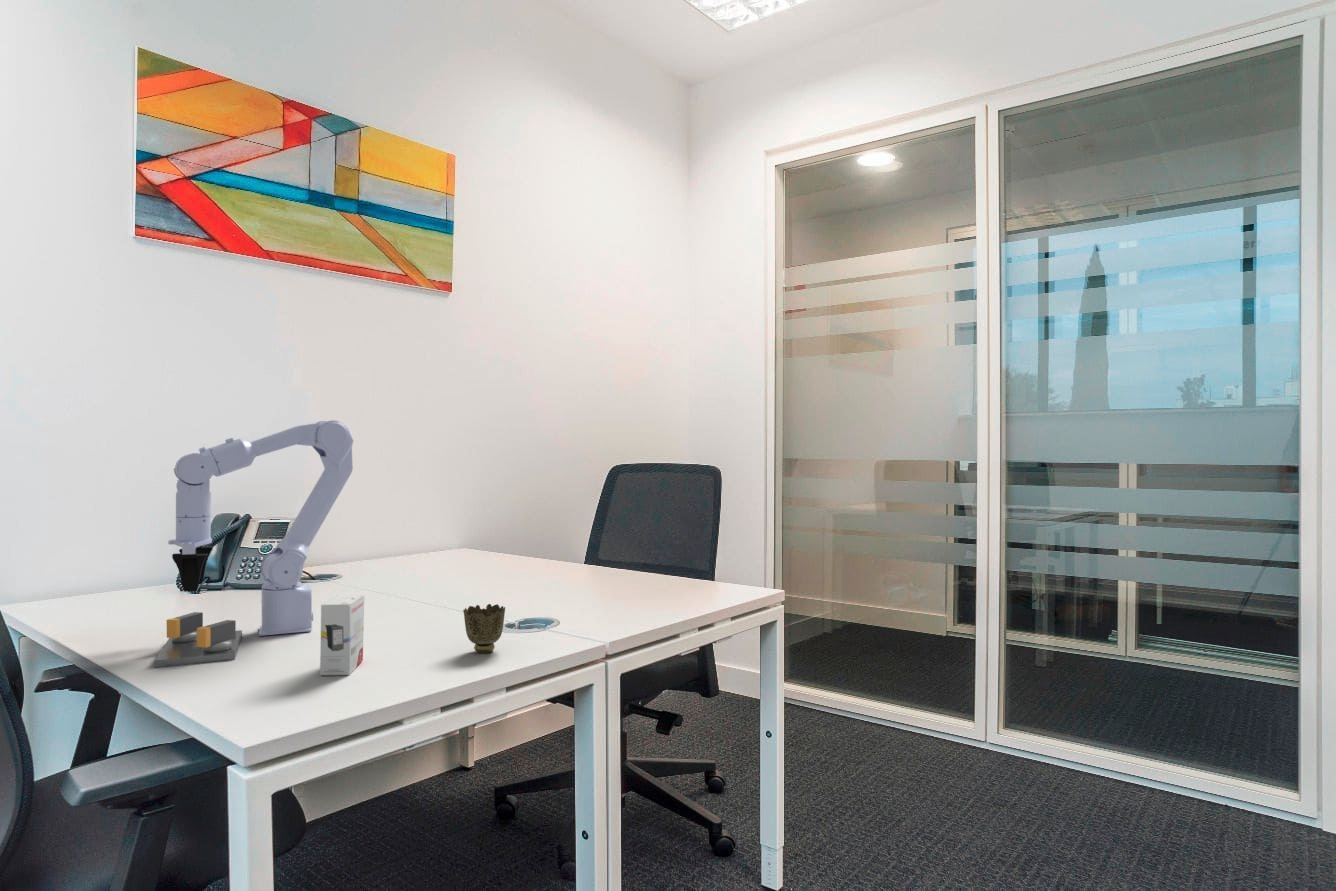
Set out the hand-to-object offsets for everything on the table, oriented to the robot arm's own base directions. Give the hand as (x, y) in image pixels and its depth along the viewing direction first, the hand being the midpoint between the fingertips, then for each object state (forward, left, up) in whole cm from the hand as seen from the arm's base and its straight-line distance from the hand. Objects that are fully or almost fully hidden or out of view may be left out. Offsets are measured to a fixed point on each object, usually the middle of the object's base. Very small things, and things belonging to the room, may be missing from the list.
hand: (193, 587), depth 151 cm
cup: (-49, +30, -11) cm, 59 cm away
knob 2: (-5, +13, -9) cm, 17 cm away
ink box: (-25, +31, -11) cm, 41 cm away
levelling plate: (-2, +8, -10) cm, 13 cm away
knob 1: (+1, +3, -9) cm, 10 cm away
